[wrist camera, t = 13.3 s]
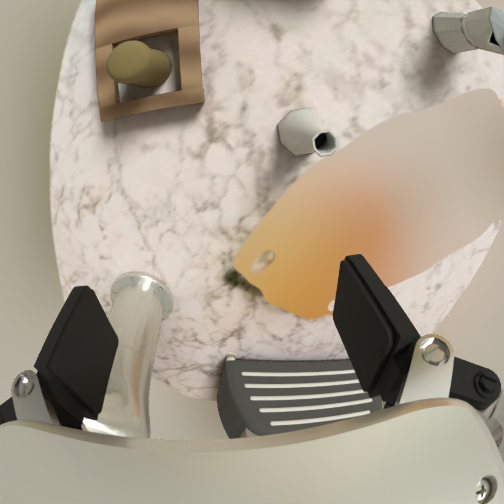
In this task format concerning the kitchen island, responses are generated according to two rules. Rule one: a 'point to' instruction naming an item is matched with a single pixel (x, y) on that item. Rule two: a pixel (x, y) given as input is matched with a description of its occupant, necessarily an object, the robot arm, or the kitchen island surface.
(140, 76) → the cork
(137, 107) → the walnut stand
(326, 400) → the toaster
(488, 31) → the coffee maker
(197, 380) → the kitchen island surface
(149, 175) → the kitchen island surface
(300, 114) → the flask
